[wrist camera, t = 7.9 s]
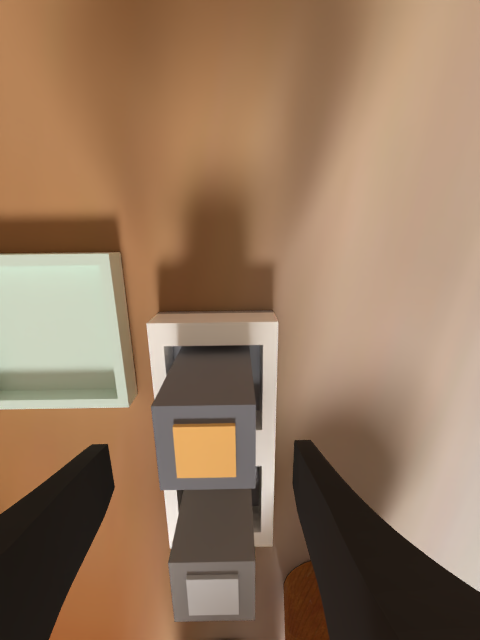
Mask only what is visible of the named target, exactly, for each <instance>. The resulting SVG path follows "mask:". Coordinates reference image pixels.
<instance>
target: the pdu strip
mask: <svg viewBox="0 0 480 640" xmlns="http://www.w3.org/2000/svg"><path fill="white" fill-rule="evenodd" d="M146 324H147V333H148V343H149V353H150V362H151V372H152V381H153V391H154V400H155V398H156V396H157V394H158V392H159V390H160V388H161V386H162V384H163V382H164V380H165V378H166V376H167V374H168V372H169V370H170V368H171V366H172V364H173V362H174V360H175V358H176V356H177V354H178V353H179V351H180V349H181V347H182V346H219V345H249V348H250V357H251V366H252V375H253V384H254V393H255V402H256V489H251V493H252V511H253V529H254V547H273V512H274V473H275V434H276V396H277V357H278V320H277V318H276V316H275V314H274V312H273V310H260V311H186V312H158V313H157V314H156V315H155V316H154V317H153V318H152V319H151V320H150V321H149V322H148V323H146ZM183 491H184V490H164V496H165V506H166V515H167V525H168V534H169V544H170V548H171V547H172V543H173V538H174V533H175V529H176V524H177V519H178V514H179V510H180V505H181V500H182V496H183Z"/></svg>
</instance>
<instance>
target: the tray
mask: <svg viewBox="0 0 480 640" xmlns="http://www.w3.org/2000/svg"><path fill="white" fill-rule="evenodd" d="M137 394H138V393H137V385H136V377H135V368H134V360H133V352H132V344H131V335H130V327H129V319H128V311H127V303H126V294H125V286H124V278H123V270H122V262H121V253H120V252H79V253H0V409H54V408H119V407H130V405H131V403H132V402H133V400H134V399H135V397H136V396H137Z"/></svg>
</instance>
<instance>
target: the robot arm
mask: <svg viewBox="0 0 480 640" xmlns="http://www.w3.org/2000/svg"><path fill="white" fill-rule="evenodd" d="M114 488H115V486H114V480H113V474H112V467H111V461H110V455H109V449H108V444H92V445H91V446H89V447H88V448H86V449H85V450H84V451H83V452H81V453H80V454H79V455H78V456H76V457H75V458H74V459H73V460H71V461H70V462H69V463H68V464H66V465H65V466H64V467H63V468H61V469H60V470H59V471H58V472H56V473H55V474H54V475H52V476H51V477H50V478H49V479H47V480H46V481H45V482H44V483H42V484H41V485H40V486H38V487H37V488H36V489H34V490H33V491H32V492H30V493H29V494H28V495H26V496H25V497H24V498H22V499H21V500H20V501H18V502H17V503H15V504H14V505H13V506H11V507H10V508H9V509H7V510H6V511H4V512H3V513H2V514H0V640H49V638H50V635H51V633H52V630H53V627H54V625H55V622H56V620H57V617H58V615H59V612H60V610H61V607H62V605H63V602H64V600H65V598H66V596H67V594H68V591H69V589H70V587H71V585H72V583H73V581H74V579H75V577H76V575H77V572H78V570H79V568H80V566H81V564H82V562H83V560H84V558H85V556H86V554H87V552H88V550H89V548H90V546H91V544H92V542H93V540H94V537H95V535H96V533H97V531H98V529H99V527H100V525H101V523H102V521H103V518H104V516H105V514H106V511H107V508H108V505H109V503H110V500H111V497H112V494H113V491H114ZM293 489H294V495H295V501H296V506H297V512H298V515H299V519H300V523H301V526H302V530H303V533H304V537H305V541H306V544H307V548H308V551H309V555H310V558H311V562H312V565H313V569H314V572H315V576H316V579H317V583H318V587H319V591H320V595H321V600H322V605H323V609H324V614H325V619H326V624H327V629H328V634H329V639H330V640H480V592H479V591H477V590H475V589H474V588H472V587H471V586H469V585H468V584H466V583H465V582H463V581H462V580H461V579H459V578H458V577H456V576H455V575H453V574H452V573H450V572H449V571H448V570H446V569H445V568H443V567H442V566H441V565H439V564H438V563H436V562H435V561H434V560H432V559H431V558H430V557H428V556H427V555H426V554H424V553H423V552H422V551H421V550H419V549H418V548H417V547H415V546H414V545H413V544H412V543H410V542H409V541H408V540H406V539H405V538H404V537H403V536H402V535H400V534H399V533H398V532H397V531H395V530H394V529H393V528H392V527H391V526H390V525H389V524H388V523H386V522H385V521H384V520H383V519H382V518H381V517H380V516H379V515H377V514H376V513H375V512H374V511H373V510H372V509H371V508H370V507H369V506H368V505H367V504H366V503H365V502H364V501H363V500H362V499H361V498H360V497H359V496H358V495H357V494H356V493H355V492H354V491H353V490H352V488H351V487H350V486H349V485H348V484H347V483H346V482H345V481H344V480H343V479H342V477H341V476H340V475H339V474H338V473H337V472H336V471H335V469H334V468H333V467H332V466H331V465H330V463H329V462H328V461H327V460H326V459H325V457H324V456H323V455H322V454H321V452H320V451H319V450H318V449H317V447H316V446H315V445H314V443H313V442H312V441H311V440H295V442H294V463H293Z"/></svg>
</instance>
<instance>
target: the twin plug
mask: <svg viewBox="0 0 480 640" xmlns="http://www.w3.org/2000/svg"><path fill="white" fill-rule="evenodd" d="M168 565H169V575H170V584H171V593H172V602H173V611H174V621H175V622H189V621H239V620H255V547H254V529H253V511H252V493H251V489H202V490H184V491H183V496H182V500H181V505H180V510H179V514H178V519H177V524H176V529H175V533H174V538H173V543H172V547H171V552H170V557H169V562H168Z"/></svg>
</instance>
